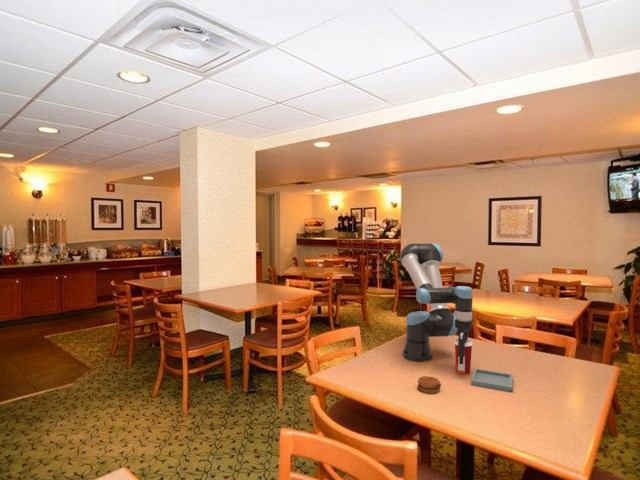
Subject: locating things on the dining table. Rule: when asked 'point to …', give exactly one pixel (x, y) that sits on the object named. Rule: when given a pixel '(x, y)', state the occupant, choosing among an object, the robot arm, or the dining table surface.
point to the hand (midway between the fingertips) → (462, 366)
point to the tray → (492, 380)
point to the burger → (429, 384)
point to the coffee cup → (467, 356)
